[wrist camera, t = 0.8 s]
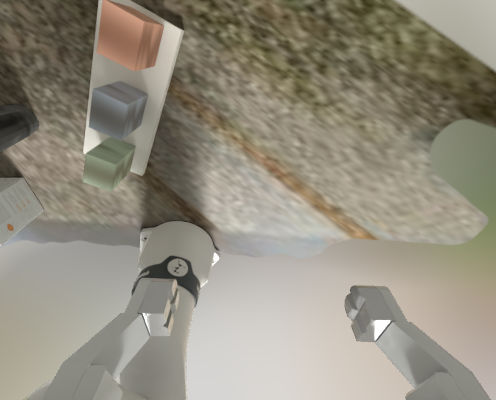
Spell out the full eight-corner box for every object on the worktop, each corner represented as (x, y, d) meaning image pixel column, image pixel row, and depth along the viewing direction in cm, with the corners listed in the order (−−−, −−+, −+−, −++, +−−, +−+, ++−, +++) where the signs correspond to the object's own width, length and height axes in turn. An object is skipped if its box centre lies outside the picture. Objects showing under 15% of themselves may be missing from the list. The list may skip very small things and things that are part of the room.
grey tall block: (140, 125, 36) (120, 140, 30) (114, 113, 35) (88, 127, 29) (148, 94, 34) (127, 104, 28) (119, 80, 33) (92, 88, 27)
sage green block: (130, 170, 41) (110, 191, 35) (106, 161, 40) (82, 181, 34) (135, 146, 38) (116, 165, 32) (110, 136, 37) (85, 153, 31)
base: (145, 172, 43) (141, 177, 42) (88, 149, 41) (82, 153, 39) (184, 30, 31) (181, 30, 30) (106, -14, 29) (99, -17, 27)
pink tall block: (154, 66, 32) (134, 71, 26) (125, 50, 31) (96, 52, 25) (164, 25, 29) (143, 21, 23) (132, 7, 28) (102, -2, 22)
